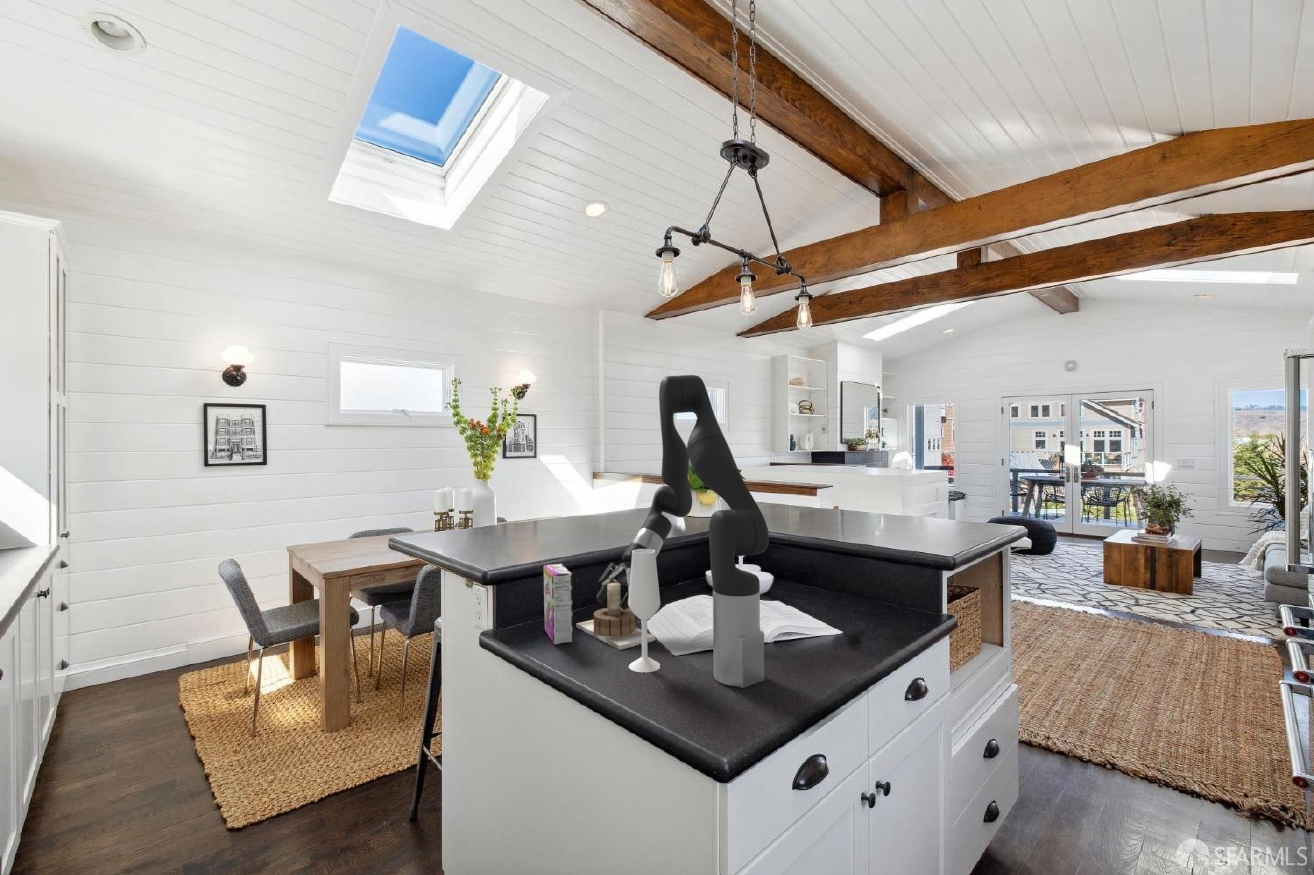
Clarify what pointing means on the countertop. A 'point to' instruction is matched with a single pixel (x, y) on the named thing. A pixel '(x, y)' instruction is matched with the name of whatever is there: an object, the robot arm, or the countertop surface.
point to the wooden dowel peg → (613, 599)
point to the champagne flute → (644, 600)
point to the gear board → (615, 629)
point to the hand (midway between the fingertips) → (610, 604)
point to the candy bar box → (558, 603)
